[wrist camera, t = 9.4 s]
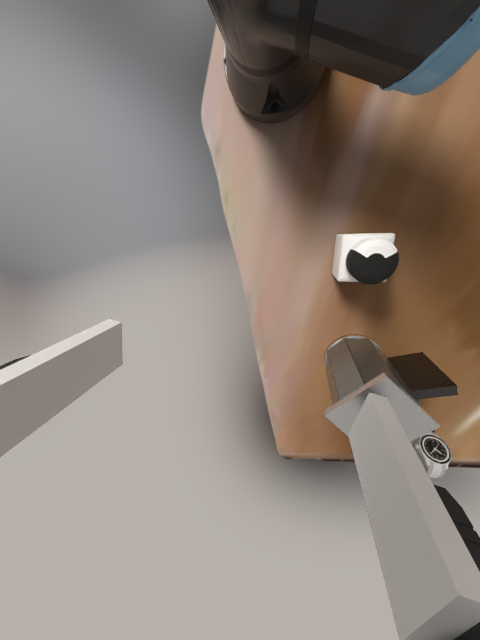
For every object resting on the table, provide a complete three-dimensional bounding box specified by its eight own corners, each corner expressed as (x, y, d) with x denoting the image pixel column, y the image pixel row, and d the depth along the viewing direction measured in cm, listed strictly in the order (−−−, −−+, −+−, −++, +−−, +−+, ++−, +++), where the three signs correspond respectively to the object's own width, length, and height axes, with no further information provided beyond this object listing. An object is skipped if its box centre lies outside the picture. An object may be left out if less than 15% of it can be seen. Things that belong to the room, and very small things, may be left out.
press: (376, 308, 44) (421, 351, 28) (419, 349, 45) (486, 414, 29) (313, 357, 50) (320, 414, 34) (351, 392, 51) (376, 464, 35)
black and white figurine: (373, 274, 42) (399, 289, 31) (331, 274, 44) (342, 288, 33) (380, 232, 40) (411, 233, 29) (335, 234, 41) (349, 235, 30)
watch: (429, 412, 49) (463, 458, 39) (417, 440, 52) (446, 490, 42) (400, 407, 50) (425, 451, 40) (390, 435, 53) (411, 482, 43)
